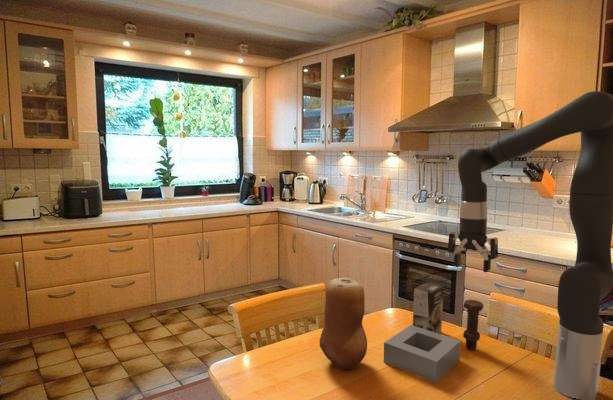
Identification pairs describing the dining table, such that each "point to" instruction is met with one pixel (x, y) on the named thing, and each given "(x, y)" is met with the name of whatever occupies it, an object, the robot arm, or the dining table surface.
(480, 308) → the bolt
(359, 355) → the butternut squash
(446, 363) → the socket block
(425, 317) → the coffee box
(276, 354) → the dining table surface
